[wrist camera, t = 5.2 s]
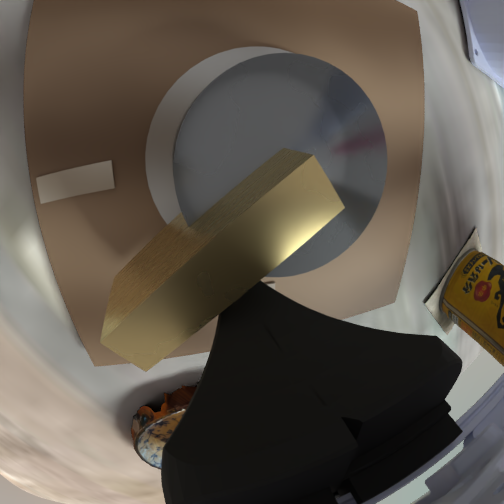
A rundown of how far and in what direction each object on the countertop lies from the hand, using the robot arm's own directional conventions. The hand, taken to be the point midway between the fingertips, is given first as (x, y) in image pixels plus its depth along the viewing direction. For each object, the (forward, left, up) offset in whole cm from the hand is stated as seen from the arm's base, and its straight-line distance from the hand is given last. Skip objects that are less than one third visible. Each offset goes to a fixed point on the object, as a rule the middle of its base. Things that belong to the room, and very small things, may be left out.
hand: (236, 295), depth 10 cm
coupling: (-4, 0, 0) cm, 4 cm away
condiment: (+6, +19, -2) cm, 20 cm away
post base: (-4, +1, -2) cm, 5 cm away
